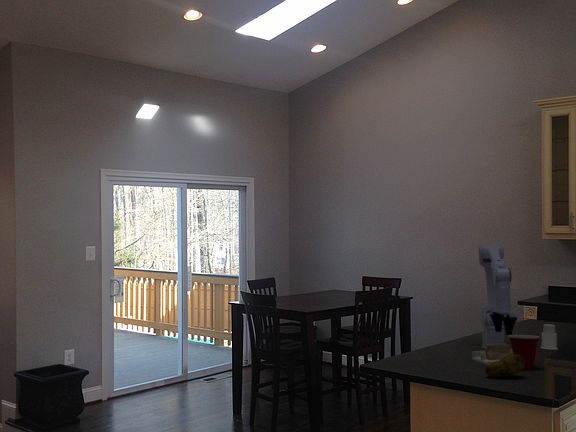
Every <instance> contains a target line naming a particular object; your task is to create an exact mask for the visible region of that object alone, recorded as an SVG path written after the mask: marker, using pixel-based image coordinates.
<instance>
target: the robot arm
mask: <svg viewBox="0 0 576 432" xmlns="http://www.w3.org/2000/svg"><path fill="white" fill-rule="evenodd" d="M504 249H505V248H504V246H503V245H502V244H483V245H482V244H480V245H479V246H478V263H479V265H480V266H481V267H483V270H484V273H485V283H486V284H485V285H486V296H487V305H486V306H485V307H483V308H482V310H481V324H482V326H483V327H484V329H483V330H482V335H481V337H482V346H480V348H481V349H484V350H485V344H495V343H505V335H506V336H508V335H513V330H514V326H515V324H516V322H517V320H518V317H517V316H516V311H513V310H512V309H511V283H512V278H513V277H512V276H513V275H512V269H511V267H508V266H507V264H506V262H505V260H504V256H505V250H504Z"/></svg>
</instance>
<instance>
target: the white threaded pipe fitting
mask: <svg viewBox="0 0 576 432" xmlns="http://www.w3.org/2000/svg"><path fill="white" fill-rule="evenodd" d="M557 335H558V333H557V332H556V324H551V323H550V324H549V323H547V324H543V331H542V332H541V346H540V349H543V350H549V351H550V350H559V348H558V347H557V346H558V343H557V341H558V336H557Z"/></svg>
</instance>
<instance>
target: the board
mask: <svg viewBox="0 0 576 432" xmlns="http://www.w3.org/2000/svg"><path fill="white" fill-rule="evenodd" d="M510 354H513V351H512V348H509V355H510ZM471 360H473V361H475V362H478V363H481V364H483V365H485V366H488V365H489V364H491V363H493V362H497V361H499V360H488V359H486V356H485V350H475V351H471Z"/></svg>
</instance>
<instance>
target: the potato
mask: <svg viewBox="0 0 576 432" xmlns="http://www.w3.org/2000/svg"><path fill="white" fill-rule="evenodd" d="M525 363H526V361H525V359H524V358H523V357H522V356H520V355H518V354H510V355H507V356H505V357H503V358H502V359H501V360H499V361H497V362H493V363H491V364H488V365H486V366H485V374H486V375H487V376H488V377H490V378H506V377H510V376H512V375H515V374H518V373H521V372H524V371H525V370H524V367H525Z"/></svg>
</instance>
